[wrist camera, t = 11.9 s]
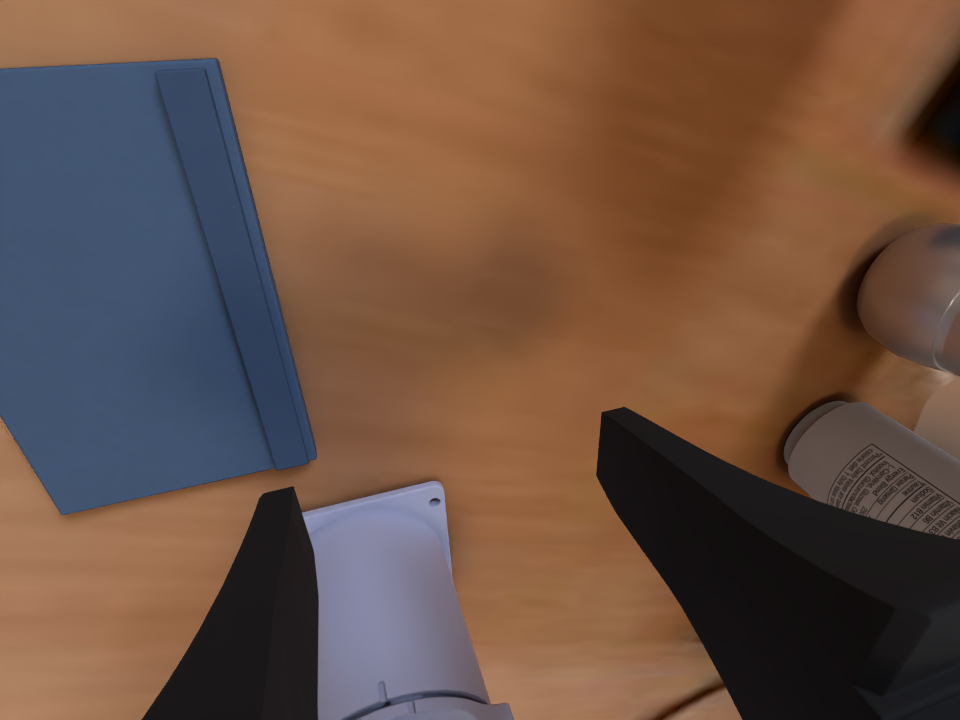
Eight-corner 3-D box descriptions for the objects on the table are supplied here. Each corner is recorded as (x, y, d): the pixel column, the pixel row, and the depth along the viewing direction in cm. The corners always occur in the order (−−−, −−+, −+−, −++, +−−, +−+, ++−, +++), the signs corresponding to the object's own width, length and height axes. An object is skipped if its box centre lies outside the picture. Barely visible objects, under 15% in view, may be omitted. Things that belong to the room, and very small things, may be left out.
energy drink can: (827, 474, 35) (1126, 711, 22) (758, 475, 32) (1049, 740, 20) (879, 395, 32) (1249, 614, 20) (808, 390, 30) (1176, 633, 18)
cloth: (316, 449, 22) (317, 466, 21) (67, 502, 20) (57, 524, 19) (218, 58, 15) (214, 59, 14) (-188, 77, 13) (-224, 80, 12)
